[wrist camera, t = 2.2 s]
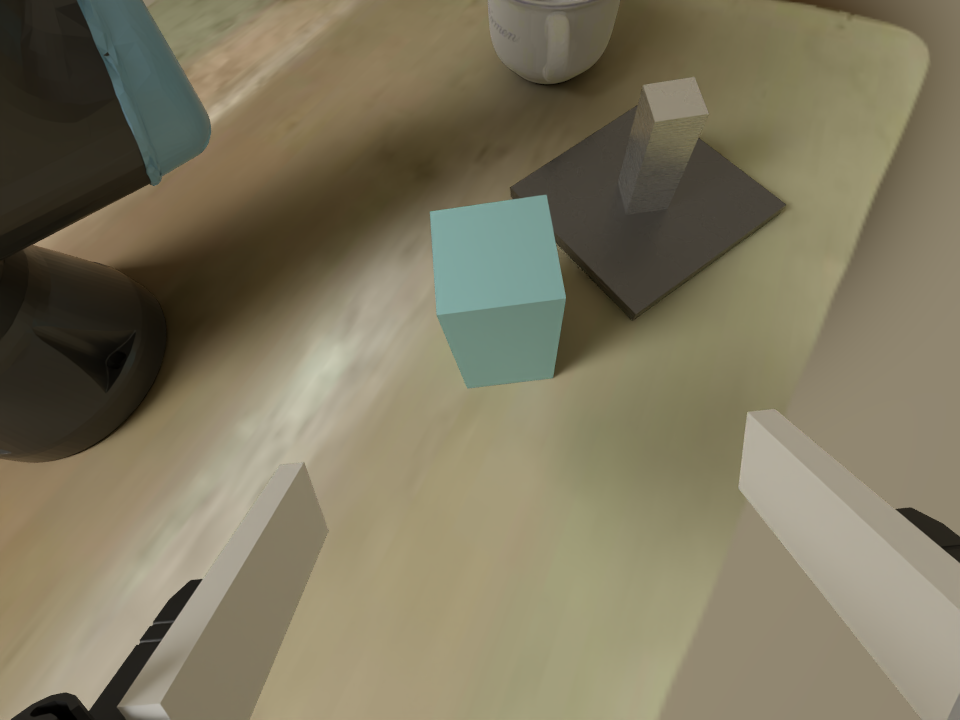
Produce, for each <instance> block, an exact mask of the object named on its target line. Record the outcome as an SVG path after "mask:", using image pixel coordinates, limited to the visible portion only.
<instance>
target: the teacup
mask: <svg viewBox="0 0 960 720" xmlns="http://www.w3.org/2000/svg"><path fill="white" fill-rule="evenodd" d="M619 4H620V0H488V12H489V25H490V34H491V39H492V43H493V47H494V49H495V51H496V53H497V55H498V57H499V58H500V60H501V61H502V62H503V63H504V64H505V65H506V66H507V67H508V68H509V69H510V70H512V71H513V72H515V73H517V74H518V75H519V76H521V77H522V78H524V79H526V80H528V81H531V82H534V83H539V84H555V83H560V82H564V81H567V80H569V79H571V78H573V77H575V76H577V75H579V74H581V73H583V72H584V71H586V70H588V69H589V68H590V67H591V66H593V65H594V64H595V63H596V62H597V61H598V59H599V58H600V57H601V55H602V54H603V52H604V51H605V49H606V47H607V45H608V42H609V40H610V37H611V34H612V31H613V27H614V24H615V20H616V16H617V12H618V8H619Z"/></svg>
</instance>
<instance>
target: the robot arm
mask: <svg viewBox="0 0 960 720" xmlns="http://www.w3.org/2000/svg"><path fill="white" fill-rule="evenodd" d="M210 135H211V124H210V119H209V116H208V114H207V112H206V110H205V108H204V106H203V104H202V103H201V101H200V99H199V97H198V95H197V94H196V92H195V90H194V88H193V87H192V85H191V83H190V81H189V80H188V78H187V76H186V75H185V73H184V71H183V69H182V68H181V66H180V64H179V62H178V61H177V59H176V57H175V55H174V54H173V52H172V50H171V49H170V47H169V45H168V43H167V42H166V40H165V38H164V36H163V35H162V33H161V31H160V30H159V28H158V26H157V24H156V23H155V21H154V19H153V18H152V16H151V14H150V12H149V11H148V9H147V7H146V6H145V4H144V2H143V1H142V0H0V459H6V460H13V461H20V462H30V463H37V462H47V461H53V460H57V459H61V458H65V457H68V456H70V455H73V454H76V453H78V452H80V451H82V450H84V449H86V448H88V447H90V446H92V445H93V444H95V443H97V442H98V441H100V440H101V439H103V438H104V437H106V436H107V435H108V434H110V433H111V432H112V431H113V430H115V429H116V428H117V427H118V426H119V425H120V424H121V423H122V422H124V421H125V420H126V419H127V418H128V416H129V415H130V414H131V413H132V412H133V411H134V410H135V409H136V407H137V406H138V405H139V404H140V402H141V401H142V400H143V398H144V397H145V395H146V394H147V392H148V391H149V389H150V387H151V385H152V384H153V382H154V380H155V378H156V375H157V373H158V371H159V368H160V365H161V363H162V359H163V355H164V351H165V345H166V324H165V319H164V315H163V312H162V309H161V307H160V305H159V303H158V301H157V300H156V298H155V297H154V296H153V295H152V293H151V292H150V291H148V290H147V289H146V288H145V287H144V286H142V285H140V284H139V283H137V282H136V281H134V280H133V279H131V278H129V277H128V276H126V275H125V274H123V273H121V272H120V271H118V270H116V269H114V268H111V267H109V266H106V265H103V264H100V263H96V262H91V261H87V260H84V259H81V258H78V257H74V256H71V255H67V254H64V253H60V252H57V251H53V250H49V249H46V248H42V247H38V246H35V245H33V244H35V243H36V242H38V241H40V240H42V239H44V238H46V237H48V236H50V235H52V234H54V233H56V232H58V231H60V230H61V229H63V228H65V227H67V226H69V225H71V224H73V223H75V222H77V221H79V220H81V219H83V218H85V217H87V216H88V215H90V214H92V213H94V212H96V211H98V210H100V209H102V208H104V207H106V206H108V205H110V204H112V203H113V202H115V201H117V200H119V199H121V198H123V197H125V196H127V195H129V194H131V193H133V192H135V191H137V190H139V189H140V188H142V187H144V186H146V185H148V184H150V185H152V186H155V185H158V184H159V183H160V181H161V179H162V176H164V175H165V174H167V173H169V172H170V171H172V170H174V169H176V168H177V167H179V166H181V165H182V164H184V163H186V162H187V161H189V160H191V159H193V158H194V157H196V156H198V155H199V154H200V153H202V152H203V150H204V149H205V148H206V147H207V145H208V143H209V139H210ZM738 488H739V490H740V491H741V492H742V493H743V495H744V496H745V497H746V499H747V500H748V501H749V502H750V504H751V505H752V506H753V507H754V509H755V510H756V511H757V512H758V514H759V515H760V516H761V517H762V519H763V520H764V521H765V523H766V524H767V525H768V526H769V528H770V529H771V530H772V531H773V533H774V534H775V535H776V536H777V538H778V539H779V540H780V541H781V543H782V544H783V545H784V546H785V548H786V549H787V550H788V552H789V553H790V554H791V555H792V557H793V558H794V559H795V560H796V562H797V563H798V564H799V566H800V567H801V568H802V569H803V571H804V572H805V573H806V574H807V576H808V577H809V578H810V579H811V581H812V582H813V583H814V584H815V586H816V587H817V588H818V590H819V591H820V592H821V593H822V595H823V596H824V597H825V598H826V600H827V601H828V602H829V603H830V605H831V606H832V607H833V609H834V610H835V611H836V612H837V614H838V615H839V616H840V617H841V619H842V620H843V621H844V622H845V624H846V625H847V626H848V627H849V629H850V630H851V631H852V633H853V634H854V635H855V636H856V638H857V639H858V640H859V641H860V643H861V644H862V645H863V646H864V648H865V649H866V650H867V651H868V653H869V654H870V655H871V657H872V658H873V659H874V660H875V661H876V663H877V664H878V665H879V667H880V668H881V669H882V670H883V672H884V673H885V674H886V676H887V677H888V678H889V679H890V680H891V682H892V683H893V684H894V685H895V687H896V688H897V689H898V691H899V692H900V693H901V694H902V696H903V697H904V698H905V699H906V701H907V702H908V703H909V704H910V706H911V707H912V708H913V710H914V711H915V712H916V713H917V715H918V716H919V717H920V718H921V720H960V537H959V536H958V535H957V534H955V533H954V532H953V531H952V530H950V529H949V528H948V527H946V526H945V525H944V524H943V523H941V522H939V521H937V520H935V519H933V518H931V517H929V516H927V515H925V514H923V513H921V512H919V511H917V510H915V509H913V508H901V509H894V508H893V507H892V506H891V505H889V504H888V503H887V502H886V501H885V500H883V499H882V498H881V497H880V496H879V495H877V494H876V493H875V492H874V491H873V490H872V489H870V488H869V487H868V486H867V485H866V484H864V483H863V482H862V481H861V480H860V479H858V478H857V477H856V476H855V475H853V474H852V473H851V472H850V471H849V470H848V469H846V468H845V467H844V466H843V465H841V464H840V463H839V462H838V461H837V460H836V459H834V458H833V457H832V456H831V455H829V454H828V453H827V452H826V451H825V450H824V449H822V448H821V447H820V446H819V445H818V444H816V443H815V442H814V441H813V440H812V439H810V438H809V437H808V436H807V435H806V434H804V433H803V432H802V431H801V430H799V429H798V428H797V427H796V426H795V425H794V424H792V423H791V422H790V421H789V420H788V419H787V418H785V417H784V416H783V415H782V414H781V413H779V412H778V411H777V410H776V409H768V410H759V411H750V412H747V419H746V427H745V436H744V444H743V453H742V461H741V470H740V478H739V487H738ZM328 531H329V530H328V528H327V525H326V522H325V519H324V516H323V514H322V511H321V508H320V505H319V502H318V500H317V497H316V494H315V491H314V488H313V486H312V483H311V480H310V477H309V474H308V472H307V469H306V466H305V463H304V462H301V463H292V464H283V465H279V467H278V468H277V470H276V471H275V473H274V474H273V476H272V477H271V479H270V480H269V482H268V483H267V485H266V486H265V488H264V489H263V491H262V492H261V494H260V495H259V497H258V498H257V499H256V501H255V502H254V504H253V505H252V507H251V508H250V510H249V511H248V513H247V514H246V516H245V517H244V519H243V520H242V522H241V523H240V525H239V526H238V528H237V529H236V531H235V532H234V534H233V535H232V537H231V538H230V540H229V541H228V543H227V544H226V546H225V547H224V549H223V550H222V551H221V553H220V554H219V556H218V557H217V559H216V560H215V562H214V563H213V565H212V566H211V568H210V569H209V571H208V572H207V574H206V575H205V577H204V578H203V579H198V580H190V581H189V582H188V583H187V584H186V585H185V586H184V587H183V588H181V589H180V590H179V591H178V592H177V593H176V594H175V595H174V596H173V597H172V598H170V599H169V600H168V602H167V603H166V605H165V606H164V607H163V609H162V610H161V612H160V613H159V614H158V616H157V617H156V619H155V620H154V621H153V626H150V627H149V628H148V630H147V631H146V632H145V634H144V635H143V637H142V638H141V639H140V644H139V645H136V646H135V648H134V649H133V651H132V652H131V653H130V655H129V656H128V657H127V659H126V660H125V662H124V663H123V664H122V666H121V667H120V669H119V670H118V671H117V673H116V674H115V676H114V677H113V678H112V680H111V681H110V683H109V684H108V685H107V687H106V688H105V689H104V691H103V692H102V694H101V695H100V696H99V698H98V699H97V701H96V702H95V703H94V705H93V706H92V708H91V709H90V710H89V711H88V710H87V709H86V708H85V706H84V705H83V704H82V703H81V701H80V700H79V699H78V698H77V697H76V696H75V695H72V694H69V693H60V694H55V695H51V696H49V697H46V698H44V699H42V700H40V701H38V702H36V703H34V704H32V705H31V706H29V707H28V708H26V709H25V710H23V711H22V712H21V713H19V714H18V715H16V716H15V717H13V718H12V719H11V720H250V717H251V715H252V713H253V710H254V708H255V705H256V703H257V701H258V698H259V696H260V694H261V691H262V689H263V686H264V684H265V682H266V679H267V677H268V674H269V672H270V670H271V667H272V665H273V663H274V660H275V658H276V655H277V653H278V651H279V648H280V646H281V643H282V641H283V639H284V636H285V634H286V631H287V629H288V627H289V624H290V622H291V620H292V617H293V615H294V612H295V610H296V608H297V605H298V603H299V600H300V598H301V596H302V593H303V591H304V588H305V586H306V584H307V581H308V579H309V577H310V574H311V572H312V569H313V567H314V565H315V562H316V560H317V557H318V555H319V553H320V550H321V548H322V545H323V543H324V541H325V538H326V536H327V534H328Z"/></svg>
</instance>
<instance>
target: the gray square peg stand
mask: <svg viewBox="0 0 960 720" xmlns="http://www.w3.org/2000/svg"><path fill="white" fill-rule="evenodd" d="M708 115H709V113H708V110H707V108H706V105H705V102H704V100H703V97H702V95H701V92H700V90H699V87H698V84H697V82H696V79H695V77H690V78H684V79H677V80H671V81H665V82H658V83H652V84H646V85H643V87H642V91H641V95H640V98H639V102H638V105H637V106H635V107H634V108H632V109H631V110H629V111H628V112H626V113H625V114H623V115H622V116H620V117H618V118H617V119H615V120H614V121H612V122H611V123H609V124H608V125H606V126H604V127H603V128H601V129H600V130H598V131H597V132H595V133H594V134H592V135H591V136H589V137H587V138H586V139H584V140H583V141H581V142H580V143H578V144H577V145H575V146H574V147H572V148H570V149H569V150H567V151H566V152H564V153H563V154H561V155H560V156H558V157H557V158H555V159H553V160H552V161H550V162H549V163H547V164H546V165H544V166H543V167H541V168H540V169H538V170H536V171H535V172H533V173H532V174H530V175H529V176H527V177H526V178H524V179H522V180H521V181H519V182H518V183H516V184H515V185H513V186H512V187H510V189H511V197H512V198H513V199H520V198H526V197H533V196H540V195H547V200H548V205H549V210H550V215H551V221H552V226H553V231H554V237H555V242H556V243H557V244H558V245H559V246H560V247H561V248H562V249H563V250H564V251H565V252H566V253H567V254H568V255H569V256H570V257H571V258H572V259H573V260H574V261H575V262H576V263H577V264H578V265H579V266H580V267H581V268H582V269H583V270H584V272H585V273H586V274H587V275H588V276H589V277H590V278H591V279H592V280H593V281H594V282H595V283H596V284H597V285H598V286H599V287H600V288H601V289H602V290H603V291H604V292H605V293H606V294H607V295H608V296H609V297H610V298H611V299H612V300H613V301H614V302H615V303H616V304H617V305H618V306H619V307H620V308H621V309H622V310H623V311H624V312H625V313H626V314H627V315H628V316H629V317H630V318H631V319H632V321H633V320H634V319H636V318H637V317H638V316H640V315H641V314H642V313H644V312H645V311H647V310H648V309H649V308H651V307H652V306H653V305H655V304H656V303H657V302H659V301H660V300H662V299H663V298H664V297H666V296H667V295H668V294H670V293H671V292H673V291H674V290H675V289H677V288H678V287H679V286H681V285H682V284H684V283H685V282H686V281H688V280H689V279H690V278H692V277H693V276H695V275H696V274H697V273H699V272H700V271H701V270H703V269H704V268H706V267H707V266H708V265H710V264H711V263H712V262H714V261H715V260H716V259H718V258H719V257H721V256H722V255H723V254H725V253H726V252H727V251H729V250H730V249H732V248H733V247H734V246H736V245H737V244H738V243H740V242H741V241H743V240H744V239H745V238H747V237H748V236H749V235H751V234H752V233H754V232H755V231H756V230H758V229H759V228H760V227H762V226H763V225H765V224H766V223H767V222H769V221H770V220H771V219H773V218H774V217H775V216H777V215H778V214H779V213H780V212H781V211H782V210H783V208H784V207H785V206H786V204H785V203H784V202H782V201H781V200H780V199H778V198H777V197H776V196H774V195H773V194H772V193H770V192H769V191H768V190H766V189H765V188H764V187H763V186H761V185H760V184H759V183H757V182H756V181H755V180H753V179H752V178H751V177H749V176H748V175H747V174H745V173H744V172H743V171H742V170H740V169H739V168H738V167H736V166H735V165H734V164H732V163H731V162H730V161H728V160H727V159H726V158H724V157H723V156H722V155H721V154H719V153H718V152H717V151H715V150H714V149H713V148H711V147H710V146H709V145H707V144H706V143H705V142H703V141H702V140H701V139H700V138H699V135H700V133H701V131H702V128H703V126H704V124H705V121H706V119H707V117H708Z"/></svg>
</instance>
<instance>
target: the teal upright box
mask: <svg viewBox="0 0 960 720" xmlns="http://www.w3.org/2000/svg"><path fill="white" fill-rule="evenodd" d="M430 220H431V236H432V251H433V266H434V281H435V296H436V312H437V317H438V319H439V322H440V324H441V327H442V329H443V331H444V334H445V336H446V339H447V341H448V343H449V346H450V348H451V351H452V353H453V355H454V358H455V360H456V362H457V365H458V367H459V370H460V372H461V374H462V377H463V379H464V382H465V384H466V386H467V388H475V387H483V386H491V385H500V384H508V383H516V382H524V381H533V380H541V379H549V378H553V375H554V369H555V362H556V356H557V350H558V344H559V338H560V332H561V326H562V320H563V314H564V308H565V302H566V295H565V290H564V285H563V279H562V274H561V269H560V263H559V258H558V253H557V247H556V242H555V237H554V231H553V226H552V221H551V215H550V210H549V205H548V200H547V195H540V196H533V197H526V198H520V199H513V200H506V201H499V202H492V203H485V204H478V205H471V206H464V207H457V208H451V209H444V210H437V211H430Z"/></svg>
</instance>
